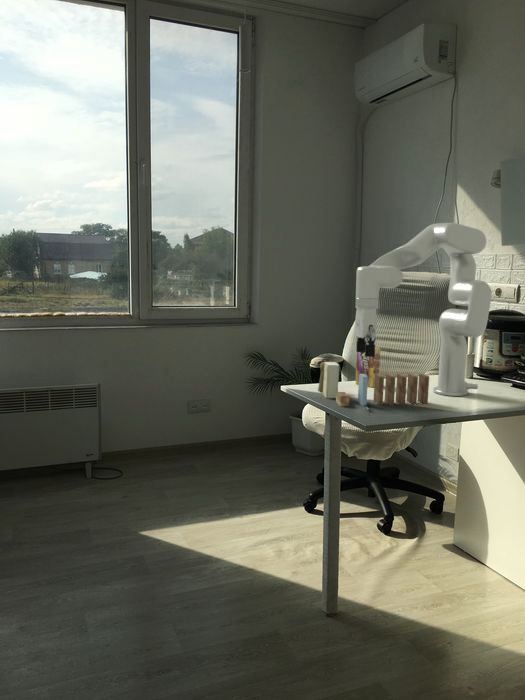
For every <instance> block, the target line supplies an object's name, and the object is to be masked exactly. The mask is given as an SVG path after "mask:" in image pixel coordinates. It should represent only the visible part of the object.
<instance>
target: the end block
mask: <svg viewBox="0 0 525 700" xmlns="http://www.w3.org/2000/svg"><path fill="white" fill-rule="evenodd" d="M335 403H336V405H338V406H340V407H349V406H350V395H349V394H348V393H346V392H345V391H338V392H336V398H335Z"/></svg>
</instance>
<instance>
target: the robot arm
mask: <svg viewBox="0 0 525 700" xmlns="http://www.w3.org/2000/svg"><path fill="white" fill-rule="evenodd" d="M486 246H487V237H486V235H485V233H484V232H483V231H482V230H480V229H479V228H476V227H475V228H474V227H470V226H468V225H465V224H460V223H456V222H439V223H432V224H430V225H428V226H426V228H424V229H423V230H421V232H419V233H418V234H416V236H414V237H413V238H412V239H411V240H410V241H408V242H407V243H405V244H403V245H402V246H399V247H397V248H395V249H393V250H391V251H389V252H387V253H385V254H383V255H381V256H380V257H378V258H377V259H376V260H374V261H373V262H372V263H371V264H370V265H367V266H359V267H357V269H356V277H355V278H356V280H355V281H356V282H355V309H356V311H355V320H354V335H355V336H356V350H355V351H356V353H357V352H365V356H366V357H374V356H375V347H376V339H377V338H376V337H377V309H379V300H380V299H379V297H380V295H379V294H380V288H382V289H395V288H397V287H399V286H400V285H401V284H402V282H403V280H404V274H403V271H402V270H404V269H408V268H412V267H415V266H419V265H421V264H422V263H424V262H425V261H426V260H427V259H428V258H430V257H431V256H433V254H434V253H435V252H437V251H438V250H440V249H443V250H444V251H445V253H446V254H447V255H448V257H449V259H450V263H451V274H450V280H449V285H448V291H447V297H448V298H447V299H448V301H449V302H450V303H451V304H452V305H456V306H462V307H467V309H463V308H449V309H446V310H445V311H443V312H442V313H441V315H440V316H439V320H438V324H439V325H438V326H439V333H440V347H439V348H440V350H439V363H438V377H437V386H434V387H433V389H432V391H433V392H434V393H435V394H438V395H441V396H449V397H463V396H467V395H469V390H478V388H479V387H478V386H479V385H478V384H477V383H471V382H467V381H466V379H465V378H466V371H467V370H466V368H467V357H468V356H467V354H468V344H467V340H466V337H468V338H478V337H481V336H482V335H483V334H484V333H485V331H486V328H487V325H488V319H489V315H490V308H491V303H492V290H491V287H490V285H489V284H488V282H486V281H484V280H478V279H477V280H476V273H477V263H476V260H475V258H474V256H473V255H477V254H480V253H482V252H483V250H484V249H486Z"/></svg>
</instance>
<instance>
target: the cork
mask: <svg viewBox="0 0 525 700" xmlns="http://www.w3.org/2000/svg"><path fill="white" fill-rule="evenodd" d="M325 362H326V361H323V362H321V363H319V364H320V365H319V369H320V377H319V383H318V387H317V388H318V389H317V391H318V392H319V391H320V392H319V393H323V383H324V365H325Z"/></svg>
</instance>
